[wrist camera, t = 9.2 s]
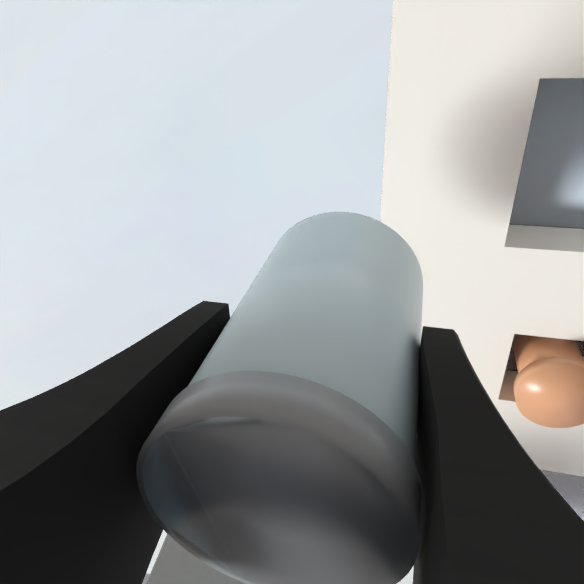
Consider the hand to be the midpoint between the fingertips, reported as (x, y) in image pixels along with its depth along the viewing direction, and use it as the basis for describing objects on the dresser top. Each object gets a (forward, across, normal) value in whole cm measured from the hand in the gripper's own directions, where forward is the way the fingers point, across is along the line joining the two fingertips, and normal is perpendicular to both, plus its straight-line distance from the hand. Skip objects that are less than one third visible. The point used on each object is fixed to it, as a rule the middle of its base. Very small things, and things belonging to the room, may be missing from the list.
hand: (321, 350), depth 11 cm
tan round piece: (+10, -8, +6) cm, 14 cm away
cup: (+3, 0, 0) cm, 3 cm away
